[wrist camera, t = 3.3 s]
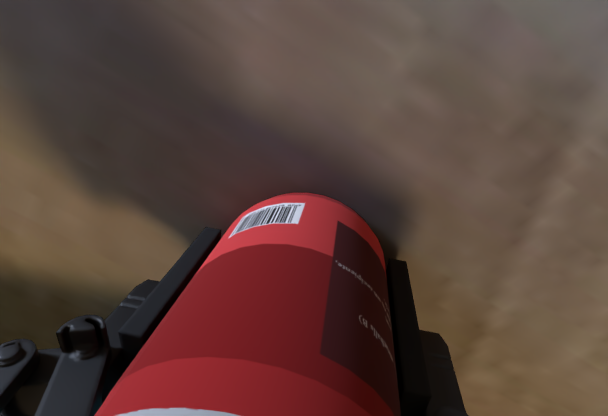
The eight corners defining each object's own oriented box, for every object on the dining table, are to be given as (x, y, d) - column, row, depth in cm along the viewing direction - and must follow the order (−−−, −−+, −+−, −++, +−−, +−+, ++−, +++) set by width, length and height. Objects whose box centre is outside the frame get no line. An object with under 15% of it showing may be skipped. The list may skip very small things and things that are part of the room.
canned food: (202, 271, 18) (16, 538, 8) (276, 151, 15) (105, 372, 5) (322, 343, 19) (279, 658, 9) (419, 245, 16) (514, 588, 6)
